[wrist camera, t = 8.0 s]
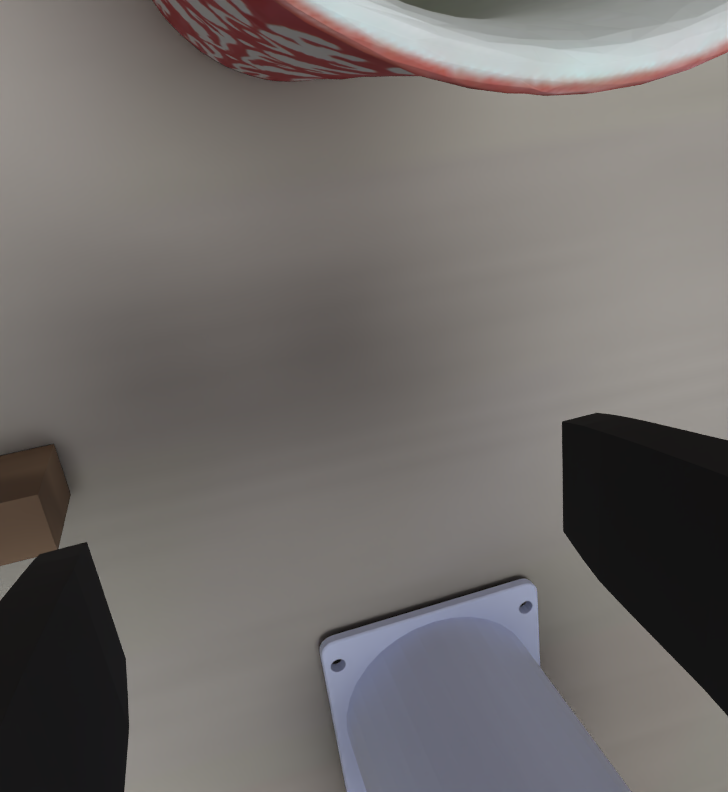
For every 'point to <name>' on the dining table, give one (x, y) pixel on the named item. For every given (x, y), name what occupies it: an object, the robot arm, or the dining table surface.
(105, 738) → the robot arm
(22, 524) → the rail
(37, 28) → the dining table surface
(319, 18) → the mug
